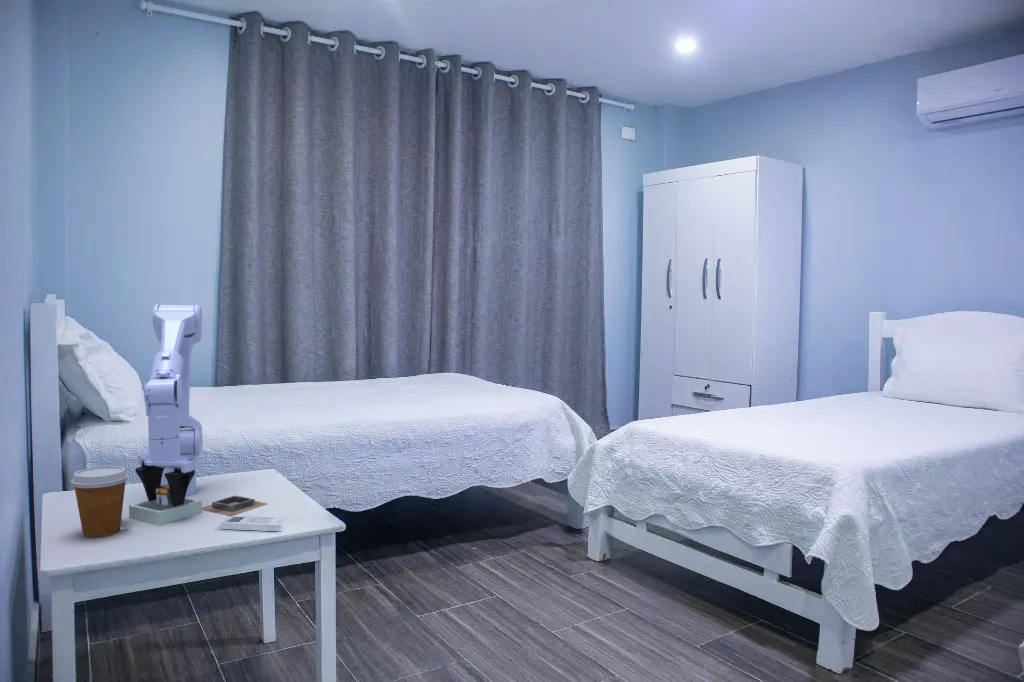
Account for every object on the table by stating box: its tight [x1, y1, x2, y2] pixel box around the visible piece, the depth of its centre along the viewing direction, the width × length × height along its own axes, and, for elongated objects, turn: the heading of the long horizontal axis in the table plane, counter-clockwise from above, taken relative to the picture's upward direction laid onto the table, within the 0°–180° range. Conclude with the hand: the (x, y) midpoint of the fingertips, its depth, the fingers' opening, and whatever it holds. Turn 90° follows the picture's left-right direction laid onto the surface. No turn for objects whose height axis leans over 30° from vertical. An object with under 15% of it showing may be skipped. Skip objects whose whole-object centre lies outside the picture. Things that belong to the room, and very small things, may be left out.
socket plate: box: [202, 495, 268, 517], centre depth 152 cm, size 10×10×2 cm
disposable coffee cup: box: [70, 465, 129, 538], centre depth 137 cm, size 10×10×12 cm
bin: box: [128, 496, 203, 527], centre depth 146 cm, size 10×10×4 cm
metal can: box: [156, 485, 174, 511], centre depth 146 cm, size 4×4×6 cm
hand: (165, 502), depth 145 cm, fingers open, 7 cm apart
